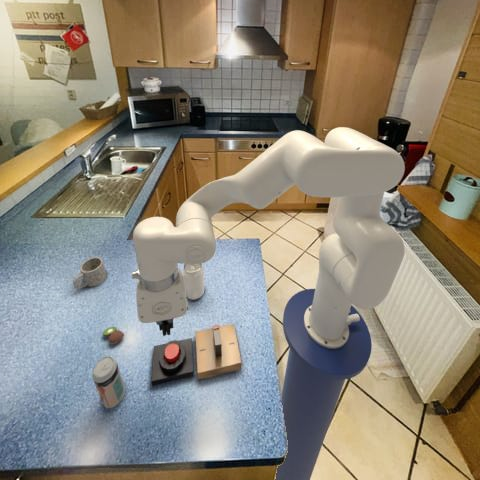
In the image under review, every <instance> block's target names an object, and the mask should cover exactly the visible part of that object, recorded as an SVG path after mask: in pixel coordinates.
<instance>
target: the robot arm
mask: <svg viewBox="0 0 480 480" xmlns="http://www.w3.org/2000/svg"><path fill="white" fill-rule="evenodd" d="M405 171H406V165H405V161H404V159H403V157H402V155H401V154H400V153H399V152H398V151H397V150H395V149H394V148H392V147H390V146H388V145H386V144H384V143H382V142H380V141H378V140H376V139H374V138H371V136H368V135H367V134H364V133H363V132H360V131H357V130H356V129H353V128H351V127H346V126H339V127H334V128H333V129H331V130H330V131H328V133H327V134H326V136H325V138H324V142H323V141H322V140H321V139H319V138H317V137H316V136H315V135H313V134H311V133H309V132H306V131H304V130H299V129H298V130H297V129H295V130H292V131H289V132H287V133H286V134H284V135H283V136H281V137H280V138H279V139H278V140H276V141H275V142H274V143H272V144H271V145H270V146H269V147H268V148H266V149H265V150H264V151H263V152H262V153H261V154H259V155H258V156H257V157H255V159H253V160H252V161H251V162H249V163H248V164H247V165H246V166H245V167H243V168H242V169H240V170H239V171H238V172H236V173H234V174H233V175H228V176H224V177H221V178H219V179H215V180H213V181H210V182H208V183H206V184H205V185H203V186H202V187H200V188H199V189H198V190H197V191H196V192H194V193H193V194H192V195H191V196H190V197H188V198H186V200H185V201H184V202H183V203H182V204H181V205H180V207H179V209H178V210H177V213H176V217H175V226H174V224H173V223H172V221H171V220H170V219H168V218H166V217H163V216H151V217H148V218H145V219H143V220H141V221H140V222H139V223H138V224H137V225H136V226H135V228H134V229H133V232H132V241H133V247H134V252H135V257H136V263H137V268H138V269H137V270H135V271H132V272H131V273H132V274H131V279H132V280H133V279H136V280H137V283H136V289H135V290H136V291H135V293H136V294H135V297H136V310H137V317H138V318H137V319H138V321H139V322H140V323H142V324H150V323H156V325H157V326H158V329H159V331H162V337H166V335H167V336H170V335H171V329H174V319H178V318H181V317H184V316H185V315H186V314H187V312H188V311H189V309H190V308H189V306H190V305H189V302H188V298H187V297H186V295H187V294H186V287H185V282H184V278H183V272H182V270H181V269H180V268H179V266H178V265H179V264H183V265H184V264H202V265H203V264H205V263H207V262H209V261H210V260H211V259H213V257H214V256H215V254H216V249H217V245H216V244H217V243H216V237H215V231H214V226H213V220H212V218H213V217H214V216H215V215H216V214H217V213H219V212H220V211H222V210H223V209H224V208H226V207H227V206H229V205H233V204H236V203H237V204H238V203H240V204H241V203H242V204H245V205H248V206H250V207H252V208H254V209H257V210H263V209H265V208H267V207H268V206H269V205H271V204H272V203H274V201H276V200H277V199H279V197H281V196H282V195H283V194H285V192H287V191H288V190H289V189H291V188H292V187H293V186H296V188H298V190H299V191H300V192H302V193H303V194H304V195H307V196H310V197H313V198H325V199H326V198H338V199H337V203H336V208H335V211H334V215H333V221H332V227H333V230H334V232H335V233H332V234H329V235H327V236H326V237H325V238H324V239H323V240H322V242H321V244H320V246H319V250H318V274H317V279H316V284H315V288H314V289H315V293H314V298H313V303H312V305H311V306H309V307H308V308H307V310H306V311H305V314H304V326H305V329H306V331H307V333H308V334H309V336H310V337H311V338H312V339H313V340H314V341H315V342H316V343H318V344H319V345H321V346H323V347H326V348H331V349H335V348H340V347H342V346H343V345H344V344H345V343H346V342H347V339H348V336H349V327H348V325H350V324H351V322H357V321H360V317H359V315H358V314H352V315H349V316H348V314H349V313H350V312H351V311H350V308H351V305H352V306H355V307H356V308H358V309H361V310H371V309H374V308H376V307H378V306H379V305H380V304H382V303H383V301H384V300H385V299H386V298H387V295H388V294H389V292H390V291H391V289H392V286H393V284H394V281H395V279H396V276H397V274H398V272H399V270H400V267H401V265H402V262H403V259H404V256H405V249H406V248H405V244H404V240H403V238H402V237H401V235H400V234H399V233H398V232H397V231H396V230H395V229H394V228H393V227H392V226H390V224H388V223H387V222H386V221H385V220H384V219H383V218H382V217H381V215H380V211H381V206H382V203H383V200H384V199H383V198H384V196H385V193H386V192H388V191H390V190H392V189H394V188H395V187H396V186H397V185H398V184H399V183H400V182H401V181H402V179H403V176H404V175H405Z"/></svg>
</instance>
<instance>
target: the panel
mask: <svg viewBox="0 0 480 480" xmlns="http://www.w3.org/2000/svg"><path fill="white" fill-rule="evenodd" d="M219 330H220V337H221V343H222V356H219V357H216V356H215V348H214V340H213V327H211V328H206V329H202V330H197V331H196V330H195V331H194V335H195V336H194V337H195V351H196V352H195V354H196V367H197V368H196V371H197V380H198V381H200V380H205V379H207V378H212V377H217V376H220V375H224V374H229V373H232V372H236V371H240V370H242V357H241V353H240V347H239V342H238V337H237V332H236V327H235V323H231V324H226V325H221V326H219Z"/></svg>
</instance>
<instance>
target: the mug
mask: <svg viewBox="0 0 480 480" xmlns="http://www.w3.org/2000/svg"><path fill="white" fill-rule="evenodd" d="M79 268H80V272H79V273H78V274H77V275H76V276H75V278H73V287H74V289H75V290H76V291H77V290H80V289H83V288H84V287H86V286H87V287H91V288H92V287H96V286H98V285H100V284H102V283H103V282H104V281H105V280H106V279H107V272H106V269H105V264H104V261H103V259H102V257H99V256H93V257H90V258H88V259H86V260H84V261H83V263H81V264H80V267H79ZM82 278H83V281H82V282H81V283H80V284H78V281H79V280H80V279H82Z"/></svg>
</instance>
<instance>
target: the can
mask: <svg viewBox="0 0 480 480" xmlns="http://www.w3.org/2000/svg"><path fill="white" fill-rule="evenodd" d="M182 275H183V278H184V282H185V287H186V294H187V295H186V297H187V299H189V300H193V301H195V300H198V299H200V298H201V297H203V295H204V293H205V277H204V275H205V274H204V266H203V263H202V264H183V268H182Z"/></svg>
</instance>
